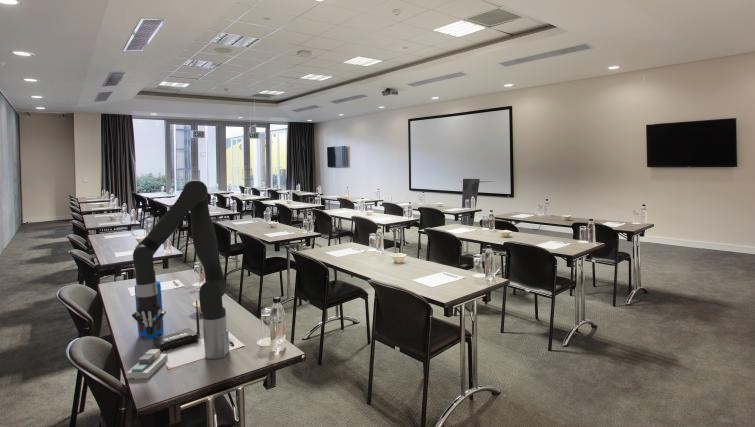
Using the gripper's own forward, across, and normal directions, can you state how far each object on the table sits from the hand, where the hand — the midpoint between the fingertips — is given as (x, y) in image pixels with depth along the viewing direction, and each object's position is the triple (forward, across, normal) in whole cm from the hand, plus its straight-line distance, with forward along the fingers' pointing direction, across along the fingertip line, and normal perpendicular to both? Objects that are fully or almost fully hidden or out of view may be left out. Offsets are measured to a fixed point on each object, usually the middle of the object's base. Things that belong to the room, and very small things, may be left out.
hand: (150, 334), depth 175 cm
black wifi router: (+13, -2, -21) cm, 25 cm away
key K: (+11, +1, -1) cm, 11 cm away
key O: (+12, +1, +9) cm, 15 cm away
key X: (+11, +1, +4) cm, 11 cm away
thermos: (+13, +15, -31) cm, 37 cm away
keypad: (+13, 0, +4) cm, 13 cm away
